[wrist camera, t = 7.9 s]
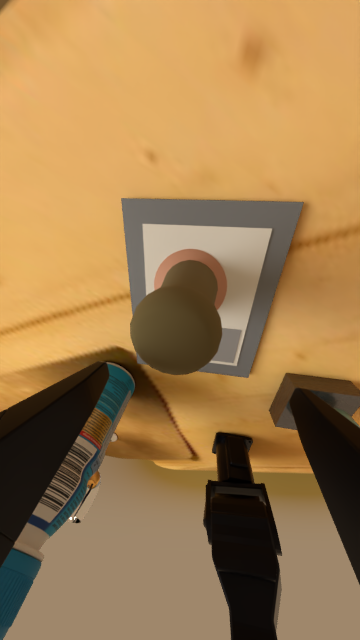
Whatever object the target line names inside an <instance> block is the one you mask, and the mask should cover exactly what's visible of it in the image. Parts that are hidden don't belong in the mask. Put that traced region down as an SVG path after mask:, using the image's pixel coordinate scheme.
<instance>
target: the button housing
mask: <svg viewBox="0 0 360 640" xmlns="http://www.w3.org/2000/svg"><path fill="white" fill-rule="evenodd" d="M297 387H300V388H306V389H308V390H310V391H311V392H312V393H314V394H315V395H316V396H318V397H319V398H320V399H322V400H323V401H325V402H326V403H327V404H329V405H330V406H331V407H333V408H337V409H341V410H344V411H345V412H347V413H348V414H349V415H350V416H352V415H353V414H354V413H355V411H356V410H357V409H358V408H359V407H360V390H359V389H358V388H357V387H356V386H355V385H354V384H353V383H351V382H350V381H345V380H337V379H329V378H321V377H313V376H305V375H297V374H289V373H286V374H285V376H284V379H283V381H282V383H281V385H280V388H279V390H278V392H277V394H276V396H275V399H274V401H273V403H272V405H271V407H270V410H269V411H270V414H271V417H272V419H273V422H274V425H275V427H281V428H288V429H294V430H297V428H296V424H295V421H294V417H293V414H292V411H291V408H290V404H289V400H290V398H291V395H292V393H293V391H294V389H295V388H297Z"/></svg>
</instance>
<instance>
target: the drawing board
mask: <svg viewBox="0 0 360 640" xmlns="http://www.w3.org/2000/svg"><path fill="white" fill-rule="evenodd" d="M121 201H122V211H123V221H124V231H125V241H126V251H127V262H128V272H129V282H130V292H131V302H132V312H133V315H134V312H135V309H136V307H137V306H138V304H139V303H140V302H141V301H142V300H143V299H144V298H145V296H147V295H148V294H149V293H151V292H153V291H155V290H157V289H158V288H160V287H161V285H162V283H163V281H164V278H165V276H166V274H167V272H168V271H169V270H170V269H171V267H172V266H174V265H175V264H177V263H179V262H181V261H186V260H194V261H199V262H201V263H203V264H205V265H207V266H208V267H209V268H210V269H211V270H212V271H213V273H214V275H215V277H216V279H217V285H218V291H217V295H216V300H215V304H214V305H215V307H216V309H217V311H218V314H219V316H220V318H221V324H222V338H221V342H220V345H219V349H218V352H217V353H216V355H215V356H214V357H213V359H212V360H211V361H210V362H209V363H208V364H207V365H205V366H204V367H202V368H201V369H199V370H198V371H200V372H207V373H215V374H223V375H230V376H238V377H245V378H248V377H249V374H250V370H251V367H252V364H253V361H254V358H255V355H256V351H257V348H258V345H259V342H260V339H261V336H262V333H263V329H264V326H265V323H266V320H267V317H268V314H269V310H270V307H271V304H272V301H273V298H274V295H275V291H276V288H277V285H278V282H279V279H280V276H281V272H282V269H283V266H284V263H285V260H286V257H287V253H288V250H289V247H290V244H291V241H292V238H293V235H294V231H295V228H296V225H297V222H298V219H299V216H300V212H301V209H302V206H303V203H304V202H274V201H225V200H177V199H128V198H121ZM136 353H137V352H136ZM137 363H139V364H147V363H145V362H144V361H143V360H142V359H141V358H140V356H139V355H138V354H137ZM147 365H148V364H147Z"/></svg>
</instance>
